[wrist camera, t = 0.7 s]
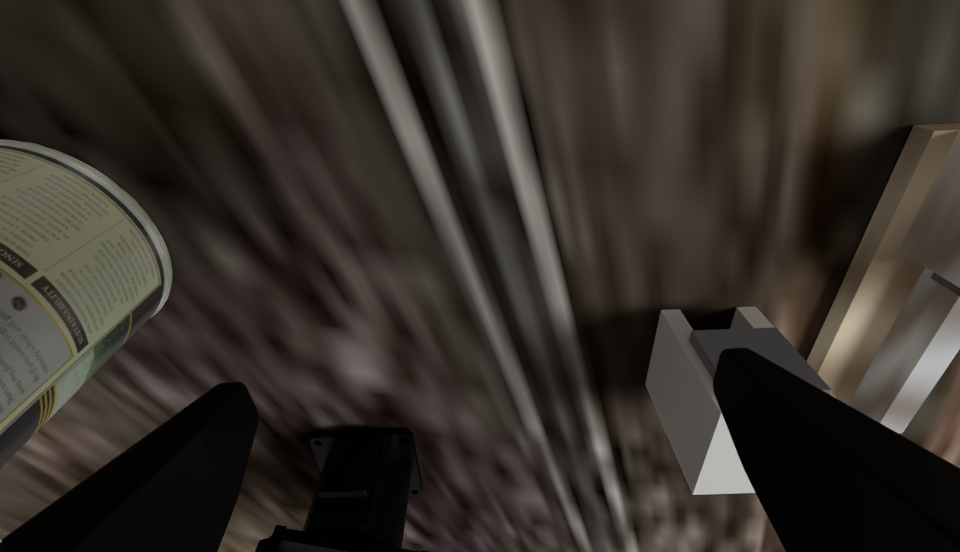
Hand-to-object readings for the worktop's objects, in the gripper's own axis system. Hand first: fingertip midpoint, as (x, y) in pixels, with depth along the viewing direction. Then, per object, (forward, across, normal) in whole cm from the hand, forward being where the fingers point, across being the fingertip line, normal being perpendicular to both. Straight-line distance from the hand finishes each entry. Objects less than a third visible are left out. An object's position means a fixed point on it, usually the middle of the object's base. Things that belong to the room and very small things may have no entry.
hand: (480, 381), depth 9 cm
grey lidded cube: (+13, -12, +11) cm, 21 cm away
